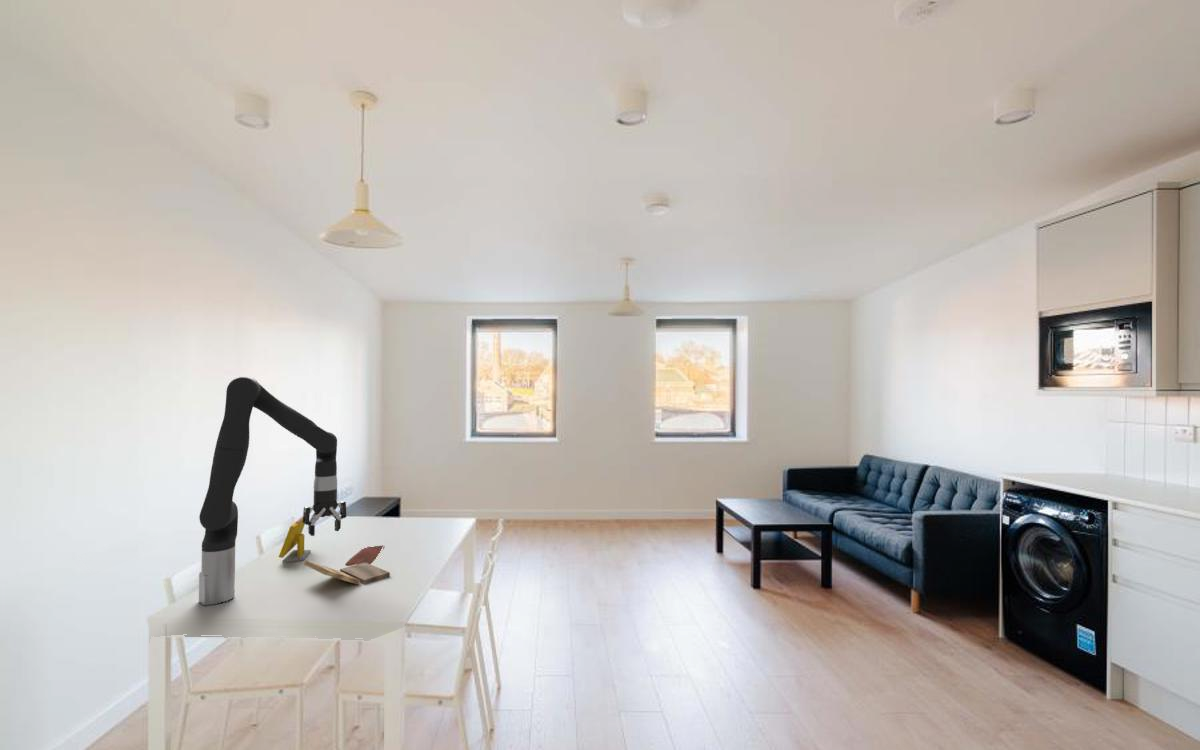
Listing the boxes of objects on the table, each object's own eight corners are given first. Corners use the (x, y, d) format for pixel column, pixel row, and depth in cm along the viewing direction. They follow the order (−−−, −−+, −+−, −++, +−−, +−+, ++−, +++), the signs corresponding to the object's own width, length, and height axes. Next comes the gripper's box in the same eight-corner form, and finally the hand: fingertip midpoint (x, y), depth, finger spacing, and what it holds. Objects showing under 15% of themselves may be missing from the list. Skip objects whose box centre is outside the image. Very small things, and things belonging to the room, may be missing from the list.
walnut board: (363, 584, 194) (363, 580, 194) (340, 573, 205) (340, 569, 205) (389, 577, 201) (389, 572, 201) (365, 566, 213) (365, 562, 213)
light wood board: (324, 574, 184) (326, 570, 184) (303, 564, 194) (305, 560, 194) (358, 584, 193) (360, 580, 194) (337, 574, 203) (339, 570, 204)
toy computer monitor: (293, 550, 233) (294, 514, 233) (313, 549, 235) (314, 513, 235) (278, 565, 213) (279, 525, 214) (300, 564, 215) (300, 524, 216)
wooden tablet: (370, 567, 214) (370, 563, 214) (343, 568, 213) (343, 564, 213) (388, 546, 240) (388, 543, 240) (364, 547, 239) (364, 543, 239)
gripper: (308, 492, 186) (308, 539, 186) (350, 486, 197) (349, 531, 196) (300, 489, 191) (299, 535, 190) (340, 484, 202) (340, 527, 201)
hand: (324, 533), depth 193 cm, fingers open, 8 cm apart
